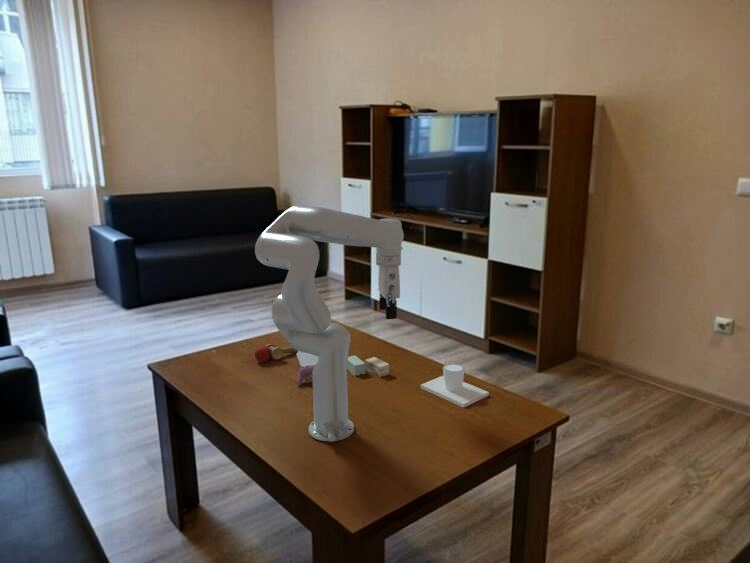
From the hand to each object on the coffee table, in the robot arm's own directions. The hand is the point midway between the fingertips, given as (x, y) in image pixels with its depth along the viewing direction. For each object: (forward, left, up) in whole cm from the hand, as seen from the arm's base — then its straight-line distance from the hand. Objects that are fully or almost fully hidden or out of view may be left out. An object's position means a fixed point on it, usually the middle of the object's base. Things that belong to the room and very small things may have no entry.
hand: (387, 314), depth 182 cm
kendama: (+37, +32, -26) cm, 55 cm away
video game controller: (+11, +23, -26) cm, 36 cm away
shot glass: (-6, -20, -25) cm, 32 cm away
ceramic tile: (-6, -20, -26) cm, 33 cm away
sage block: (+18, +7, -26) cm, 32 cm away
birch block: (+15, 0, -26) cm, 30 cm away
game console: (+29, +21, -26) cm, 44 cm away
